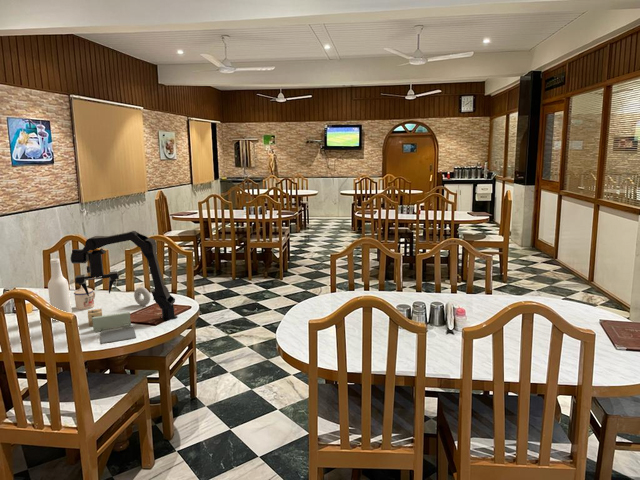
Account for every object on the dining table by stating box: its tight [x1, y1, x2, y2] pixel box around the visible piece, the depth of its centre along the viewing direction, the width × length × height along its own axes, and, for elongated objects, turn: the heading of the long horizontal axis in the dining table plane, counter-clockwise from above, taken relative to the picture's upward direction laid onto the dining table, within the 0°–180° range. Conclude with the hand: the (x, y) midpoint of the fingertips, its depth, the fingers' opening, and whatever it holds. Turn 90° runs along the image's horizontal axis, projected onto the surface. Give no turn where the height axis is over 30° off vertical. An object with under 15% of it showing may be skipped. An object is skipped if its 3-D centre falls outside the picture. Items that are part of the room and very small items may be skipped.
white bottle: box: [47, 257, 73, 314], centre depth 234 cm, size 9×9×30 cm
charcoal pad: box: [100, 326, 137, 345], centre depth 213 cm, size 14×14×1 cm
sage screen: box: [92, 311, 132, 333], centre depth 222 cm, size 6×16×6 cm, turn 115°
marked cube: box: [87, 308, 103, 327], centre depth 228 cm, size 6×6×6 cm
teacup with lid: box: [73, 285, 96, 311], centre depth 252 cm, size 12×9×12 cm
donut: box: [133, 286, 151, 307], centre depth 252 cm, size 10×4×10 cm, turn 66°
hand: (98, 294), depth 230 cm, fingers open, 9 cm apart
